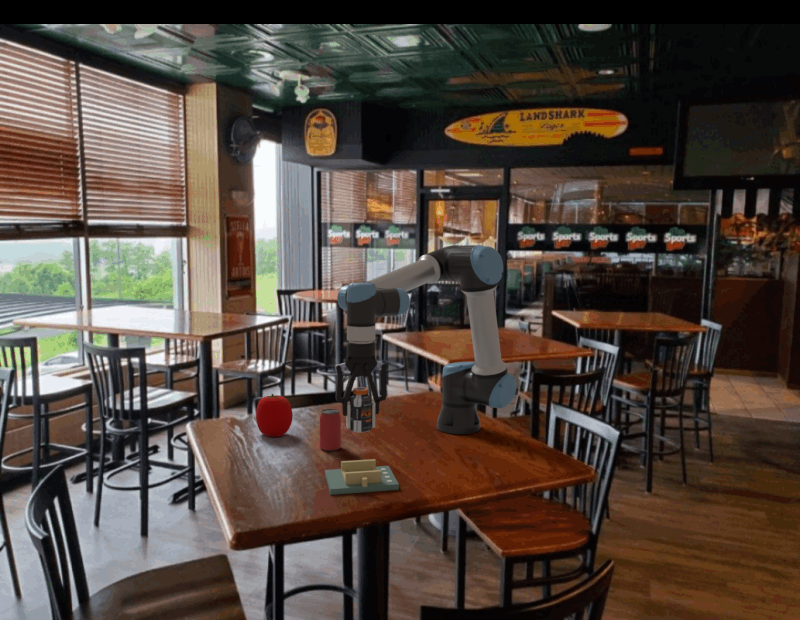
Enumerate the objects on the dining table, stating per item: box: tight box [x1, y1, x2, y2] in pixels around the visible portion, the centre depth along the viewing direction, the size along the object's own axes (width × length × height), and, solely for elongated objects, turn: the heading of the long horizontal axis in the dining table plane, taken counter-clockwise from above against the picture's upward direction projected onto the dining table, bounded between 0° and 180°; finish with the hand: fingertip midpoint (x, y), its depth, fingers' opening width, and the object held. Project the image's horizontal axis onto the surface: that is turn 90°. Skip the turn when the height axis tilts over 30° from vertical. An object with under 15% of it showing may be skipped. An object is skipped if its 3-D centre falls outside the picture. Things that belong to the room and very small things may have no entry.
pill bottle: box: [349, 386, 373, 433], centre depth 173 cm, size 6×6×11 cm
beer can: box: [319, 408, 342, 452], centre depth 202 cm, size 7×7×12 cm
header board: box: [324, 458, 400, 496], centre depth 175 cm, size 18×14×4 cm
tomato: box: [255, 393, 294, 438], centre depth 215 cm, size 13×11×14 cm
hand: (360, 426), depth 173 cm, fingers closed on pill bottle, 6 cm apart
